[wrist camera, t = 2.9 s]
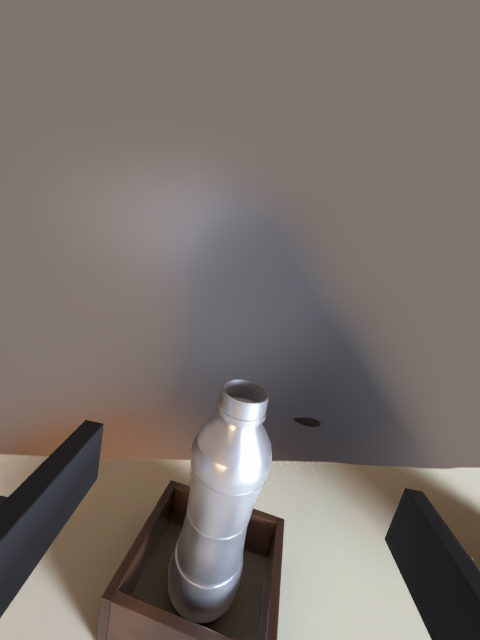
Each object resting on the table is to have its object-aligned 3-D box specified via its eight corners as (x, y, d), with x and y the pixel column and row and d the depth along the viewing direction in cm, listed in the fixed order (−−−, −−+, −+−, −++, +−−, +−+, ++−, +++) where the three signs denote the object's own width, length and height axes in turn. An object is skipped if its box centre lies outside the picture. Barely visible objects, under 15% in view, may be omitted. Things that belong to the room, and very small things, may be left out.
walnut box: (274, 552, 31) (284, 519, 30) (260, 717, 20) (275, 672, 19) (165, 512, 33) (170, 479, 32) (95, 642, 22) (100, 597, 21)
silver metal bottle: (147, 607, 24) (183, 392, 20) (190, 539, 30) (226, 363, 26) (214, 658, 22) (274, 429, 17) (247, 574, 28) (296, 389, 24)
